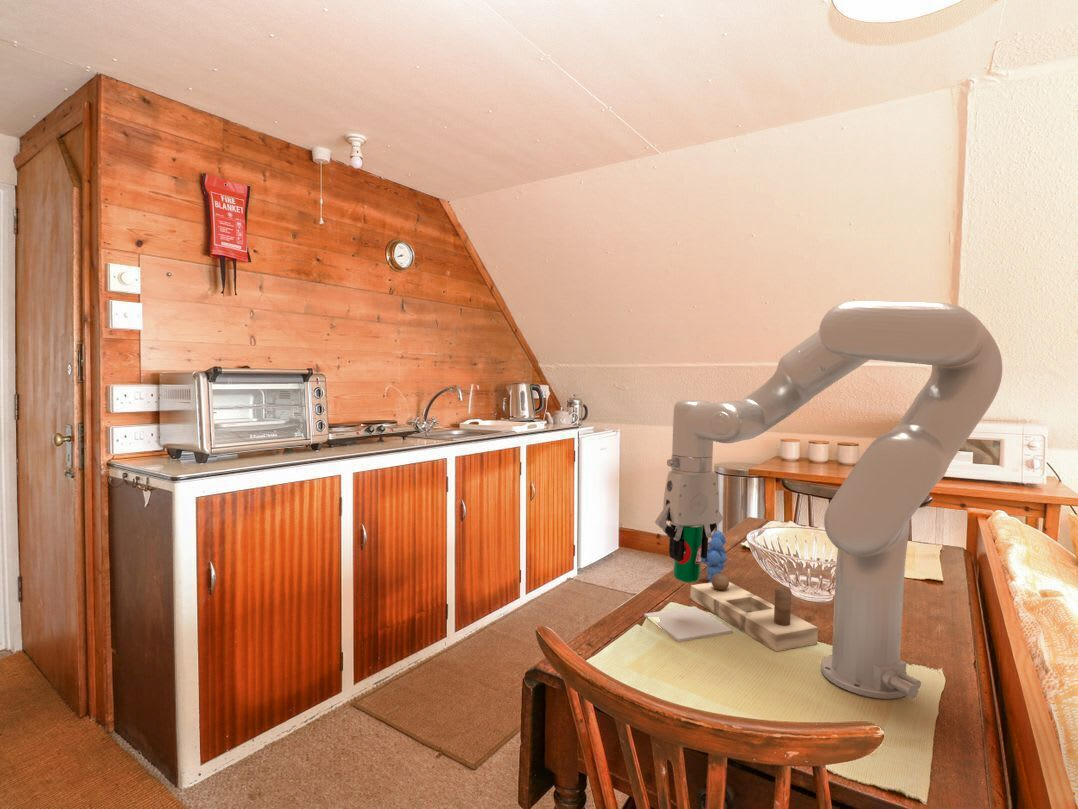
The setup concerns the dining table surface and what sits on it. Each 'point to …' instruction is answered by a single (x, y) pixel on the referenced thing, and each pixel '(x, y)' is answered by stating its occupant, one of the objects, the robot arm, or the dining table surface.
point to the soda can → (690, 555)
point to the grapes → (715, 555)
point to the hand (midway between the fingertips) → (688, 556)
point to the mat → (689, 623)
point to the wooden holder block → (756, 613)
